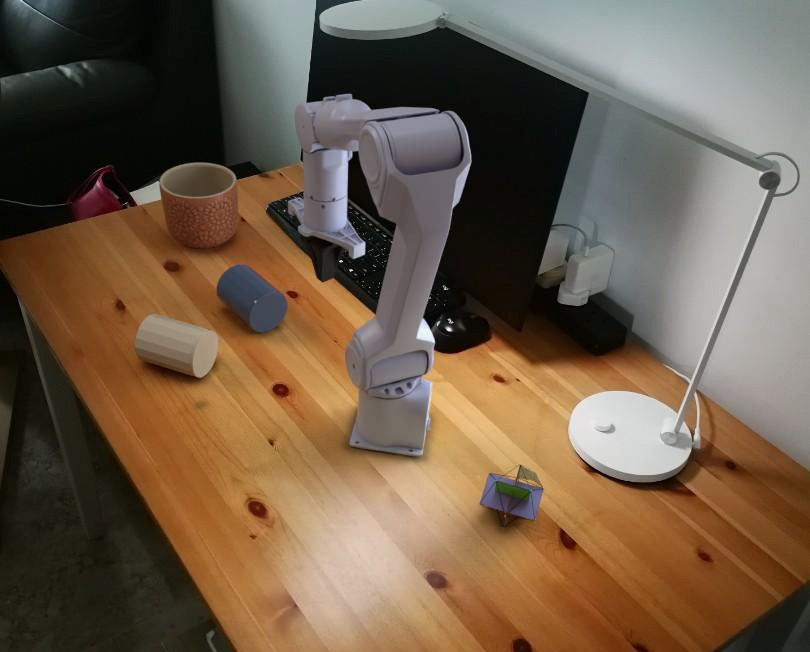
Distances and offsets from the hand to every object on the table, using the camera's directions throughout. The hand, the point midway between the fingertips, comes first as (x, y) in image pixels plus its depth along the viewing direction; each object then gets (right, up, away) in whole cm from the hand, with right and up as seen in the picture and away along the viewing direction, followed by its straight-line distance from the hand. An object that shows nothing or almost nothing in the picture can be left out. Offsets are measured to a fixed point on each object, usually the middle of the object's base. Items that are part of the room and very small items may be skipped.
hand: (325, 278), depth 119 cm
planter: (-23, +10, +25) cm, 36 cm away
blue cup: (-9, -4, +5) cm, 11 cm away
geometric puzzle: (+24, -31, -17) cm, 42 cm away
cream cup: (-16, -11, -3) cm, 20 cm away
